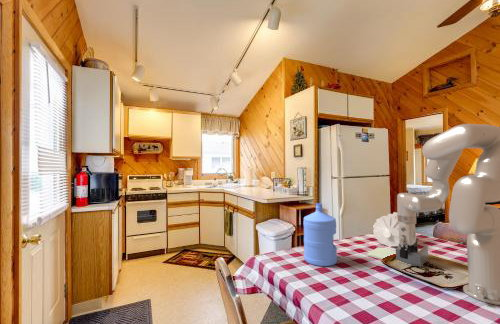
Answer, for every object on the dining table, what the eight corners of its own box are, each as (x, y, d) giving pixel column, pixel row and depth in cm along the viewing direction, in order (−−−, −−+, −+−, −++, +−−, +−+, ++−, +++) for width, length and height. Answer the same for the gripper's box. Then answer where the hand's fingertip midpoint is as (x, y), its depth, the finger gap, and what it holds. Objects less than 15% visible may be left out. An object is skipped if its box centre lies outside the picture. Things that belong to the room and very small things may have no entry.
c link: (420, 267, 108) (420, 254, 108) (396, 261, 115) (395, 249, 116) (428, 259, 118) (427, 247, 118) (404, 254, 125) (404, 242, 125)
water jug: (314, 268, 108) (313, 206, 109) (298, 256, 123) (297, 202, 124) (344, 264, 112) (342, 204, 113) (325, 253, 127) (323, 201, 128)
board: (390, 261, 116) (390, 259, 116) (366, 255, 124) (366, 254, 124) (400, 253, 126) (400, 251, 126) (378, 248, 135) (378, 247, 135)
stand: (419, 260, 117) (418, 239, 117) (408, 257, 120) (407, 238, 120) (421, 257, 120) (420, 238, 120) (411, 255, 123) (410, 236, 123)
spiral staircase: (379, 253, 139) (393, 241, 156) (411, 246, 127) (422, 234, 144) (363, 222, 145) (379, 214, 162) (392, 213, 133) (405, 206, 150)
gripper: (410, 223, 105) (411, 262, 105) (420, 217, 117) (421, 252, 116) (391, 220, 110) (392, 258, 110) (403, 215, 122) (403, 248, 122)
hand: (407, 255), depth 113 cm, fingers open, 9 cm apart
